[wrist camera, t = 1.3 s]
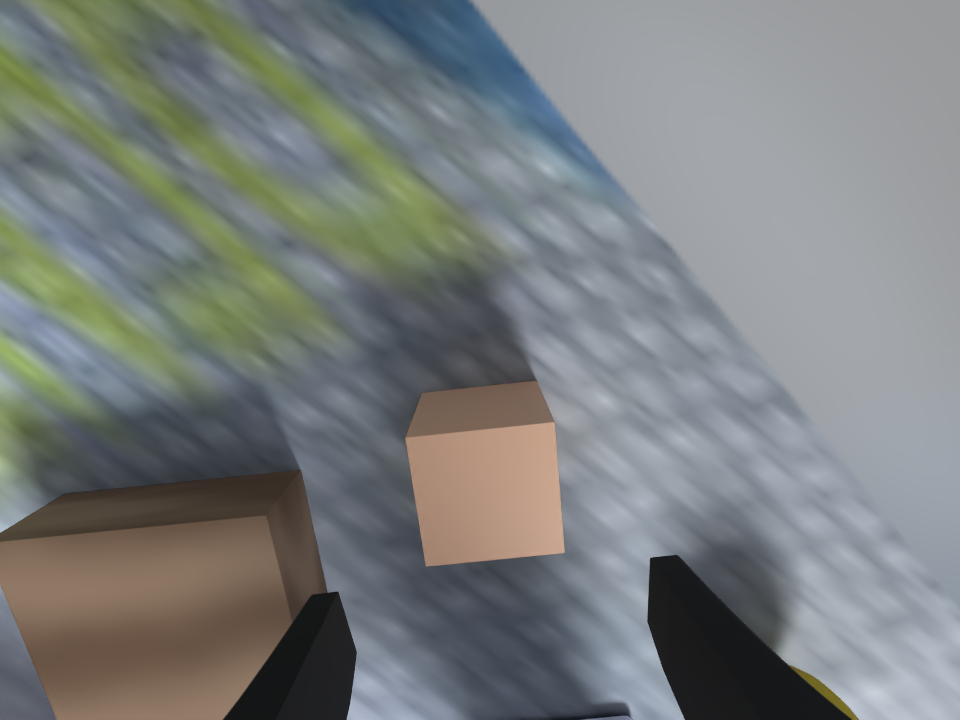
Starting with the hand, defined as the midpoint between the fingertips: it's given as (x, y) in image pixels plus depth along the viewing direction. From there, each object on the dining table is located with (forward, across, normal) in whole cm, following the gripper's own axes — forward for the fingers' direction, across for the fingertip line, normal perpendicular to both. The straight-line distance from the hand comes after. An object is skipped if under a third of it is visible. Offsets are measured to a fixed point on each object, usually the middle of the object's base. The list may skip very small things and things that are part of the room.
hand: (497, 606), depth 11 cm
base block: (+10, +14, +8) cm, 19 cm away
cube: (+10, 0, +2) cm, 10 cm away
